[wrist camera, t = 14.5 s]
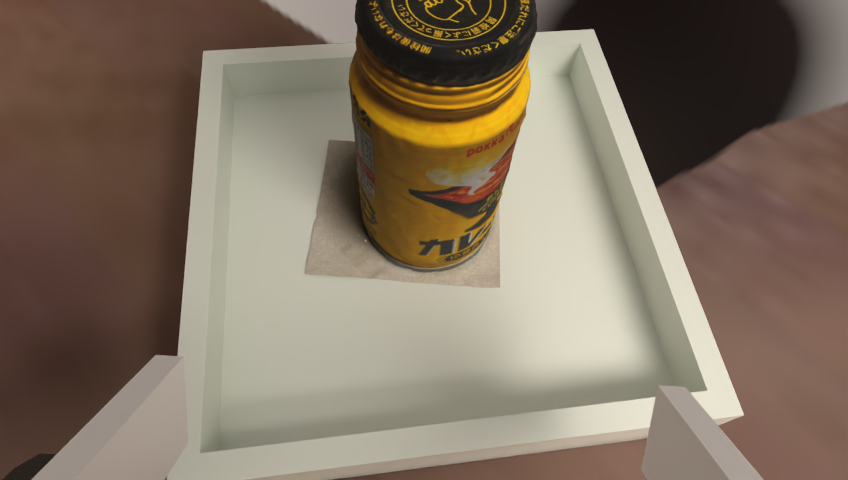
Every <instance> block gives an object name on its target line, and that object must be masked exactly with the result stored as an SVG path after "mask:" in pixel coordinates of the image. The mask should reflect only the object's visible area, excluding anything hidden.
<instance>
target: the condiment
mask: <svg viewBox="0 0 848 480" xmlns="http://www.w3.org/2000/svg"><path fill="white" fill-rule="evenodd" d="M355 22H356V24H357V29H358V30H357V37H356V51H355V53H354V56H353V60H352V62H351V65H350V70H349V87H350V97H351V106H352V122H353V127H354V134H355V136H354V137H355V142H353V141H340V140H329V142H328V148H327V155H326V161H325V168H324V174H323V180H322V185H321V192H320V197H319V203H318V208H317V217H316V220H315V224H314V230H313V235H312V242H311V248H310V252H309V258H308V263H307V269H306V274H311V275H329V276H336V277H356V278H367V279H381V280H392V281H401V282H411V283H426V284H439V285H452V286H471V287H481V288H500V230H499V202H500V198H501V196H502V190H503V187H504V184H505V181H506V177H507V174H508V172H509V169H510V164H511V160H512V155H513V152H514V148H515V144H516V141H517V138H518V135H519V132H520V127H521V125H522V123H523V120H524V118H525V117H526V106H527V102H528V98H529V94H530V86H531V80H530V71H529V68H528V61H529V53H530V46H531V44H532V41H533V39H534V37H535V35H536V30H537V12H536V4H535V0H357V3H356V11H355ZM358 235H359V236H358ZM365 240H366V241H367V242H365Z"/></svg>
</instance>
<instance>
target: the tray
mask: <svg viewBox="0 0 848 480" xmlns="http://www.w3.org/2000/svg"><path fill="white" fill-rule="evenodd" d="M355 51H356V43H338V44H320V45H302V46H284V47H266V48H248V49H230V50H212V51H203V60H202V72H201V84H200V96H199V107H198V119H197V131H196V143H195V155H194V166H193V178H192V190H191V202H190V213H189V225H188V237H187V249H186V261H185V272H184V284H183V296H182V308H181V320H180V331H179V343H178V355H177V356H182V357H184V372H185V390H186V407H187V425H188V442H189V443H188V445H187V446H186V448H185V449H184V451H183V452H182V454H181V455H180V457H179V458H178V460H177V461H176V463H175V464H174V466H173V467H172V469H171V470H170V472H169V473H168V475H167V480H334V479H341V478H349V477H357V476H364V475H372V474H380V473H387V472H395V471H403V470H410V469H418V468H426V467H433V466H441V465H449V464H456V463H464V462H471V461H479V460H487V459H494V458H502V457H510V456H517V455H525V454H533V453H540V452H548V451H556V450H563V449H571V448H578V447H586V446H594V445H601V444H609V443H617V442H624V441H632V440H640V439H647V438H648V433H649V428H650V423H651V418H652V413H653V408H654V403H655V397H656V392H657V387H658V385H662V386H679V387H686V388H687V389H688V391H689V392H690V393H691V394H692V395H693V397H694V398H695V399H696V400H697V401H698V403H699V404H700V405H701V406H702V407H703V408H704V410H705V411H706V412H707V413H708V414H709V416H710V417H711V418H712V419H713V420H714V422H715V423H716V424H717V425H721V424H723V423H726V422H728V421H731V420H733V419H736V418H738V417H741V416H743V415H744V414H743V411H742V409H741V406H740V404H739V401H738V398H737V396H736V393H735V391H734V388H733V386H732V383H731V380H730V378H729V375H728V373H727V370H726V368H725V365H724V363H723V360H722V357H721V355H720V352H719V350H718V347H717V345H716V342H715V339H714V337H713V334H712V332H711V329H710V327H709V324H708V321H707V319H706V316H705V314H704V311H703V309H702V306H701V303H700V301H699V298H698V296H697V293H696V291H695V288H694V286H693V283H692V280H691V278H690V275H689V273H688V270H687V268H686V265H685V262H684V260H683V257H682V255H681V252H680V250H679V247H678V244H677V242H676V239H675V237H674V234H673V232H672V229H671V227H670V224H669V221H668V219H667V216H666V214H665V211H664V209H663V206H662V203H661V201H660V198H659V196H658V193H657V191H656V188H655V185H654V183H653V180H652V178H651V175H650V173H649V170H648V168H647V165H646V162H645V160H644V157H643V155H642V152H641V150H640V147H639V144H638V142H637V139H636V137H635V134H634V132H633V129H632V127H631V124H630V121H629V119H628V116H627V114H626V111H625V108H624V106H623V104H622V101H621V98H620V96H619V93H618V91H617V88H616V85H615V83H614V80H613V78H612V75H611V73H610V70H609V68H608V65H607V62H606V60H605V57H604V55H603V52H602V50H601V47H600V44H599V42H598V39H597V37H596V34H595V32H594V30H593V29H589V30H572V31H554V32H536V35H535V37H534V39H533V41H532V44H531V46H530V53H529V61H528V68H529V71H530V80H531V86H530V94H529V98H528V102H527V106H526V117H525V118H524V120H523V123H522V125H521V127H520V132H519V135H518V138H517V141H516V144H515V148H514V152H513V155H512V160H511V164H510V169H509V172H508V174H507V177H506V181H505V184H504V187H503V190H502V196H501V198H500V202H499V230H500V288H481V287H471V286H452V285H439V284H426V283H411V282H401V281H392V280H381V279H367V278H356V277H336V276H329V275H311V274H306V269H307V263H308V258H309V252H310V248H311V242H312V235H313V230H314V224H315V220H316V217H317V208H318V203H319V197H320V192H321V185H322V180H323V174H324V168H325V161H326V155H327V148H328V142H329V140H340V141H353V142H355V137H354V136H355V134H354V127H353V122H352V106H351V97H350V87H349V70H350V65H351V62H352V60H353V56H354V53H355ZM358 236H359V235H358ZM365 242H367V241H366V240H365Z"/></svg>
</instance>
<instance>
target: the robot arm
mask: <svg viewBox="0 0 848 480" xmlns="http://www.w3.org/2000/svg"><path fill="white" fill-rule="evenodd" d="M188 443H189V442H188V425H187V407H186V390H185V372H184V357H182V356H166V355H155V356H154V357H153V358H152V359H151V360H150V361H149V362H148V363H147V364H146V365H145V366H144V367H143V368H142V369H141V370H140V371H139V372H138V373H137V374H136V375H135V376H134V377H133V378H132V379H131V380H130V381H129V382H128V383H127V384H126V385H125V386H124V387H123V388H122V389H121V390H120V391H119V392H118V393H117V394H116V395H115V396H114V397H113V398H112V399H111V400H110V401H109V402H108V403H107V404H106V405H105V406H104V407H103V408H102V409H101V410H100V411H99V412H98V413H97V414H96V415H95V416H94V417H93V418H92V419H91V420H90V421H89V422H88V423H87V424H86V425H85V426H84V427H83V428H82V429H81V430H80V431H79V432H78V433H77V434H76V435H75V436H74V437H73V438H72V439H71V440H70V441H69V442H68V443H67V444H66V445H65V446H64V447H63V448H62V449H61V450H60V451H59V452H58V453H57V454H56V455H53V454H39V455H37V456H35V457H33V458H32V459H30V460H28V461H26V462H25V463H23V464H21V465H19V466H18V467H16V468H14V469H13V470H12V471H11V472H10V473H9V474H8V475H7V476H6V477H5V478H4V479H2V480H164V479H165V478H166V476H167V475H168V473H169V472H170V470H171V469H172V467H173V466H174V464H175V463H176V461H177V460H178V458H179V457H180V455H181V454H182V452H183V451H184V449H185V448H186V446H187V445H188ZM641 470H642V472H643V474H644V476H645V477H646V479H647V480H763V478H762V477H761V476H760V475H759V474H758V473H757V471H756V470H755V469H754V468H753V467H752V465H751V464H750V463H749V462H748V461H747V460H746V458H745V457H744V456H743V455H742V454H741V452H740V451H739V450H738V449H737V448H736V446H735V445H734V444H733V443H732V442H731V441H730V439H729V438H728V437H727V436H726V435H725V433H724V432H723V431H722V430H721V429H720V427H719V426H718V425H717V424H716V423H715V422H714V420H713V419H712V418H711V417H710V416H709V414H708V413H707V412H706V411H705V410H704V408H703V407H702V406H701V405H700V404H699V403H698V401H697V400H696V399H695V398H694V397H693V395H692V394H691V393H690V392H689V391H688V389H687V388H686V387H679V386H662V385H658V387H657V392H656V397H655V403H654V408H653V413H652V418H651V423H650V428H649V433H648V438H647V443H646V448H645V453H644V459H643V464H642V469H641Z"/></svg>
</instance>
